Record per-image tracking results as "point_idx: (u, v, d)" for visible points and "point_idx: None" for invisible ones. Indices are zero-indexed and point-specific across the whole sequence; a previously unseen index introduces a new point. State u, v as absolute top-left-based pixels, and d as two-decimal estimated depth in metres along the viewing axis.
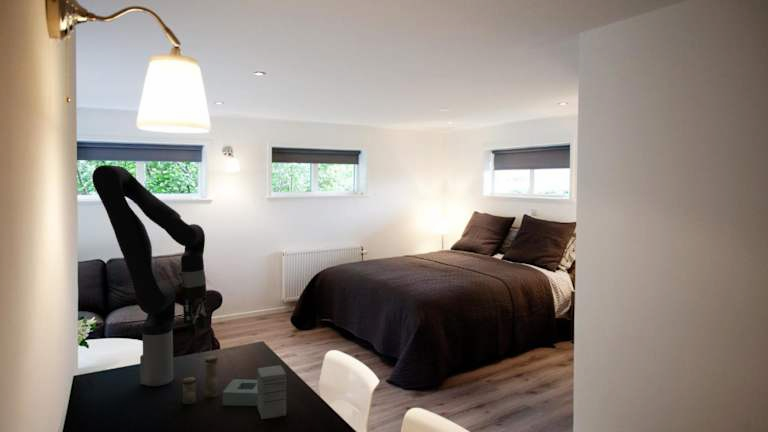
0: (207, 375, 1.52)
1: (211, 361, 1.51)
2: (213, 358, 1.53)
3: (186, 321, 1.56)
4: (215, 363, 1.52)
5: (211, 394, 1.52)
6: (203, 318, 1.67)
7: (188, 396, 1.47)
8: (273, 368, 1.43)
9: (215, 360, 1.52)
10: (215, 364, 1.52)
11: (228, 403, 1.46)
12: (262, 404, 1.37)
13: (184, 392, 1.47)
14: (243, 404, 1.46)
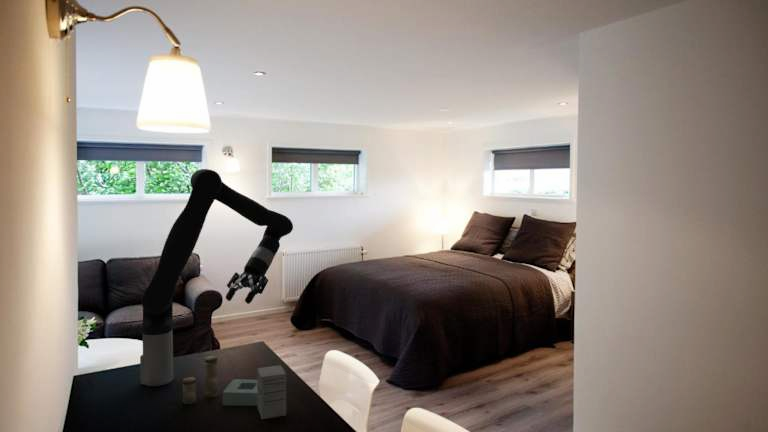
0: (207, 375, 1.52)
1: (211, 361, 1.51)
2: (213, 358, 1.53)
3: (259, 289, 1.62)
4: (215, 363, 1.52)
5: (211, 394, 1.52)
6: (234, 293, 1.67)
7: (188, 396, 1.47)
8: (273, 368, 1.43)
9: (215, 360, 1.52)
10: (215, 364, 1.52)
11: (228, 403, 1.46)
12: (262, 404, 1.37)
13: (184, 392, 1.47)
14: (243, 404, 1.46)
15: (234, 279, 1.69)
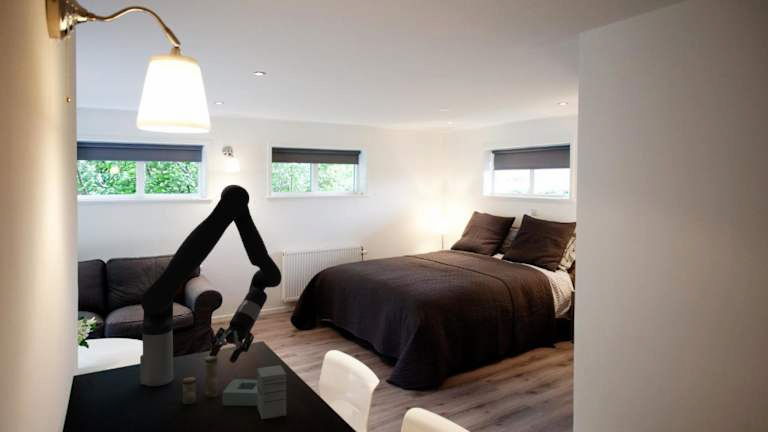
0: (207, 375, 1.52)
1: (211, 361, 1.51)
2: (213, 358, 1.53)
3: (245, 347, 1.57)
4: (215, 363, 1.52)
5: (211, 394, 1.52)
6: (219, 349, 1.61)
7: (188, 396, 1.47)
8: (273, 368, 1.43)
9: (215, 360, 1.52)
10: (215, 364, 1.52)
11: (228, 403, 1.46)
12: (262, 404, 1.37)
13: (184, 392, 1.47)
14: (243, 404, 1.46)
15: (219, 334, 1.64)
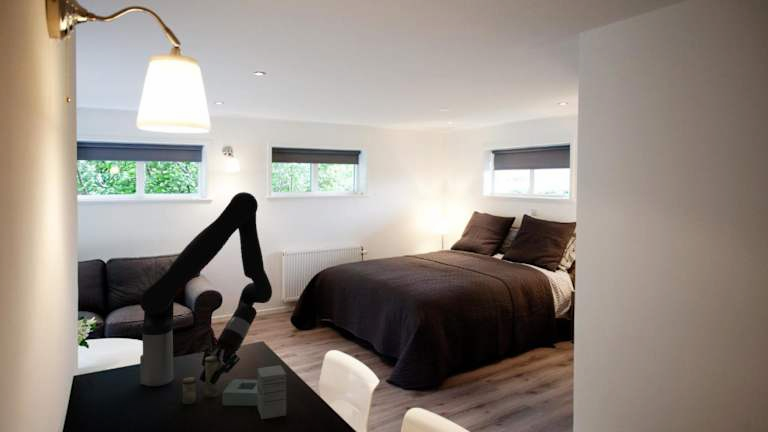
0: (207, 375, 1.52)
1: (211, 361, 1.51)
2: (213, 358, 1.53)
3: (225, 369, 1.52)
4: (215, 363, 1.52)
5: (211, 394, 1.52)
6: None
7: (188, 396, 1.47)
8: (273, 368, 1.43)
9: (215, 360, 1.52)
10: (215, 364, 1.52)
11: (228, 403, 1.46)
12: (262, 404, 1.37)
13: (184, 392, 1.47)
14: (243, 404, 1.46)
15: (207, 355, 1.58)
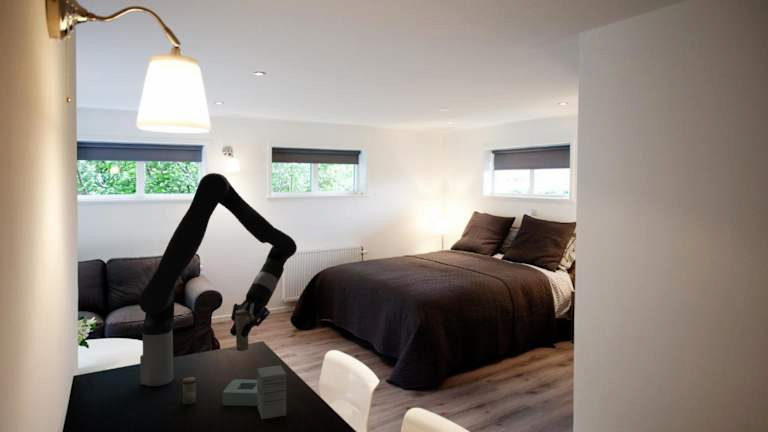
0: (238, 328, 1.49)
1: (242, 314, 1.49)
2: (243, 311, 1.50)
3: (256, 322, 1.50)
4: (246, 316, 1.50)
5: (242, 348, 1.50)
6: None
7: (188, 396, 1.47)
8: (273, 368, 1.43)
9: (245, 313, 1.50)
10: (246, 317, 1.50)
11: (228, 403, 1.46)
12: (262, 404, 1.37)
13: (184, 392, 1.47)
14: (243, 404, 1.46)
15: (236, 310, 1.55)
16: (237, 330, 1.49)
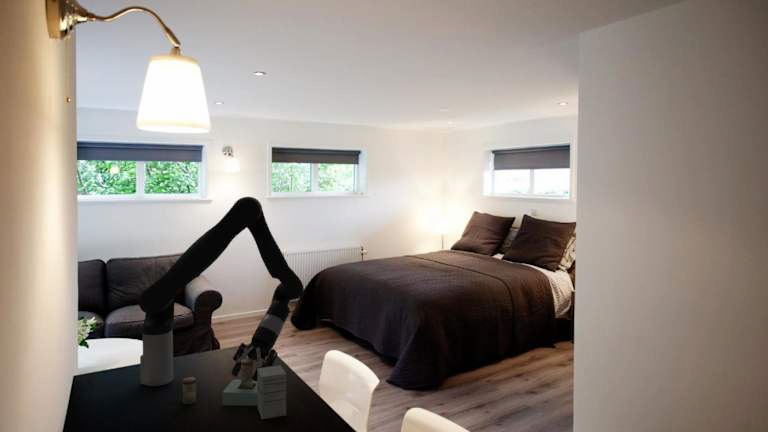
0: (243, 378, 1.49)
1: (247, 364, 1.49)
2: (249, 361, 1.51)
3: (268, 365, 1.50)
4: (251, 366, 1.50)
5: None
6: None
7: (188, 396, 1.47)
8: (273, 368, 1.43)
9: (251, 363, 1.50)
10: (251, 367, 1.50)
11: (228, 403, 1.46)
12: (262, 404, 1.37)
13: (184, 392, 1.47)
14: (243, 404, 1.46)
15: (241, 351, 1.56)
16: (242, 380, 1.50)
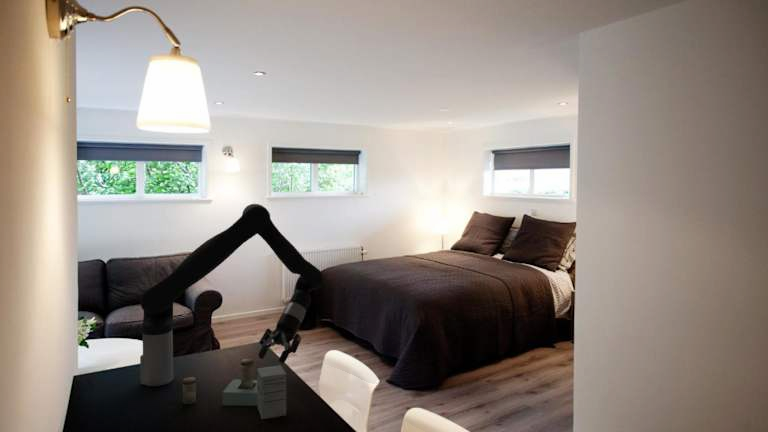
0: (243, 378, 1.49)
1: (247, 364, 1.49)
2: (249, 361, 1.51)
3: (293, 348, 1.61)
4: (251, 366, 1.50)
5: None
6: (266, 350, 1.66)
7: (188, 396, 1.47)
8: (273, 368, 1.43)
9: (251, 363, 1.50)
10: (251, 367, 1.50)
11: (228, 403, 1.46)
12: (262, 404, 1.37)
13: (184, 392, 1.47)
14: (243, 404, 1.46)
15: (266, 335, 1.68)
16: (242, 380, 1.50)
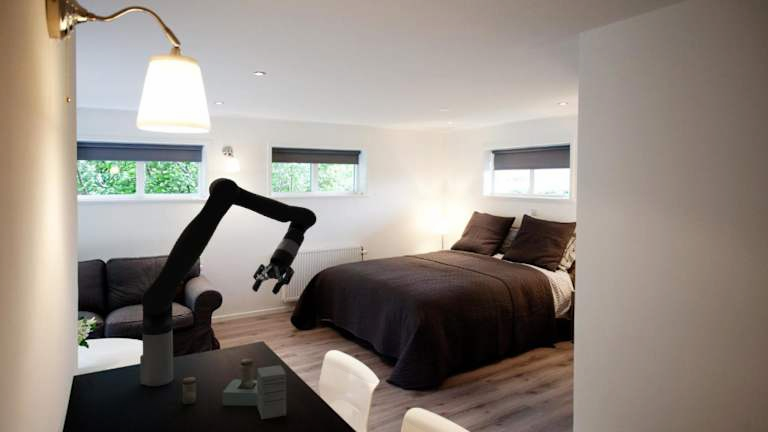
0: (243, 378, 1.49)
1: (247, 364, 1.49)
2: (249, 361, 1.51)
3: (286, 280, 1.64)
4: (251, 366, 1.50)
5: None
6: (260, 284, 1.69)
7: (188, 396, 1.47)
8: (273, 368, 1.43)
9: (251, 363, 1.50)
10: (251, 367, 1.50)
11: (228, 403, 1.46)
12: (262, 404, 1.37)
13: (184, 392, 1.47)
14: (243, 404, 1.46)
15: (260, 270, 1.71)
16: (242, 380, 1.50)
